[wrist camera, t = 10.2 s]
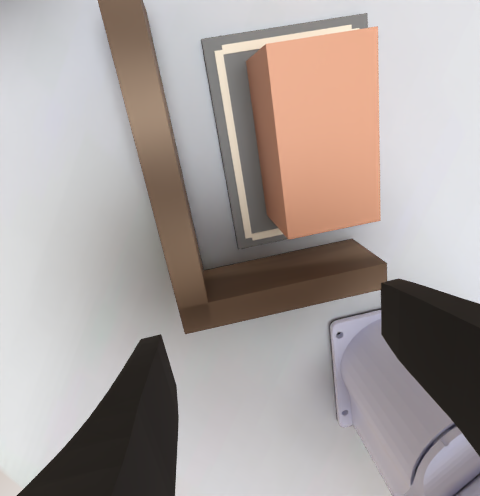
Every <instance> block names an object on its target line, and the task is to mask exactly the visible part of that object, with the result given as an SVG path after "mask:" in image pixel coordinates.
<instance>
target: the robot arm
mask: <svg viewBox="0 0 480 496" xmlns="http://www.w3.org/2000/svg"><path fill="white" fill-rule="evenodd" d="M338 332H341V333H340V334H339V335H336V334H337V333H338ZM330 333H331V345H332V358H333V370H334V382H335V395H336V407H337V420H338V423H339V425H340V426H341V427H348V426H352V425H353V426H354V427H355V429H356V431H357V433H358V434H359V436H360V438H361V440H362V442H363V443H364V445H365V447H366V449H367V451H368V452H369V454H370V456H371V458H372V460H373V461H374V463H375V465H376V467H377V469H378V470H379V472H380V474H381V476H382V477H383V479H384V481H385V483H386V485H387V486H388V488H389V490H390V492H391V494H392V495H393V496H480V304H478V303H475V302H472V301H468V300H465V299H462V298H459V297H456V296H453V295H450V294H447V293H444V292H441V291H438V290H435V289H432V288H429V287H426V286H422V285H419V284H416V283H413V282H409V281H406V280H402V279H395V280H391V281H387V282H383V283H381V310H378V311H374V312H369V313H365V314H361V315H356V316H352V317H348V318H343V319H339V320H336V321H334V322H332V324H331V325H330ZM344 410H345V411H344ZM177 441H178V401H177V389H176V383H175V380H174V376H173V373H172V370H171V366H170V363H169V360H168V356H167V353H166V349H165V346H164V343H163V339H162V336H161V335H157V336H153V337H148V338H144V339H141V340H140V342H139V343H138V345H137V346H136V348H135V350H134V351H133V353H132V354H131V356H130V358H129V359H128V361H127V363H126V364H125V366H124V368H123V369H122V371H121V372H120V374H119V375H118V377H117V378H116V380H115V381H114V383H113V385H112V386H111V388H110V389H109V391H108V392H107V394H106V395H105V396H104V398H103V399H102V400H101V402H100V403H99V405H98V406H97V407H96V409H95V410H94V411H93V413H92V414H91V416H90V417H89V418H88V419H87V421H86V422H85V423H84V424H83V426H82V427H81V428H80V429H79V431H78V432H77V433H76V434H75V435H74V436H73V438H72V439H71V440H70V441H69V442H68V443H67V444H66V446H65V447H64V448H63V449H62V450H61V451H60V452H59V453H58V454H57V455H56V456H55V458H54V459H53V460H52V461H51V462H50V463H49V464H48V465H47V466H46V467H45V468H44V469H43V470H42V471H41V472H40V473H39V474H38V475H37V476H36V477H35V478H34V479H33V480H32V481H31V482H30V483H29V484H28V485H27V486H26V487H25V488H24V489H23V490H22V491H21V492H20V493H19V494H18V495H17V496H175V482H176V461H177Z"/></svg>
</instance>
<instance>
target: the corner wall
mask: <svg viewBox="0 0 480 496" xmlns="http://www.w3.org/2000/svg"><path fill="white" fill-rule="evenodd" d="M98 3H99V7H100V11H101V15H102V19H103V23H104V26H105V30H106V34H107V38H108V42H109V45H110V49H111V53H112V57H113V61H114V65H115V68H116V72H117V76H118V80H119V84H120V88H121V91H122V95H123V99H124V103H125V107H126V110H127V114H128V118H129V122H130V126H131V130H132V133H133V137H134V141H135V145H136V149H137V152H138V156H139V160H140V164H141V168H142V172H143V175H144V179H145V183H146V187H147V191H148V195H149V198H150V202H151V206H152V210H153V214H154V217H155V221H156V225H157V229H158V233H159V237H160V240H161V244H162V248H163V252H164V256H165V259H166V263H167V267H168V271H169V275H170V279H171V282H172V286H173V290H174V294H175V298H176V302H177V305H178V309H179V313H180V317H181V321H182V324H183V328H184V332H185V334H188V333H193V332H197V331H202V330H206V329H210V328H215V327H219V326H224V325H228V324H232V323H237V322H241V321H245V320H250V319H254V318H259V317H263V316H267V315H272V314H276V313H281V312H285V311H289V310H294V309H298V308H303V307H307V306H311V305H316V304H320V303H324V302H329V301H333V300H338V299H342V298H346V297H351V296H355V295H360V294H364V293H368V292H373V291H377V290H381V283H383V282H387V263H386V262H384V261H383V260H382V259H380V258H379V257H377V256H376V255H375V254H373V253H372V252H370V251H369V250H368V249H366V248H365V247H363V246H362V245H360V244H359V243H358V242H356V241H355V240H353V239H349V240H345V241H340V242H335V243H331V244H326V245H321V246H316V247H312V248H307V249H302V250H298V251H293V252H288V253H284V254H279V255H274V256H270V257H265V258H260V259H256V260H251V261H246V262H241V263H237V264H232V265H227V266H223V267H218V268H213V269H209V270H203V266H202V261H201V257H200V252H199V248H198V243H197V239H196V234H195V229H194V225H193V220H192V216H191V211H190V207H189V202H188V198H187V193H186V189H185V184H184V180H183V175H182V171H181V166H180V162H179V157H178V153H177V148H176V144H175V139H174V134H173V130H172V125H171V121H170V116H169V112H168V107H167V103H166V98H165V94H164V89H163V85H162V80H161V76H160V71H159V67H158V62H157V58H156V53H155V49H154V44H153V40H152V35H151V30H150V26H149V21H148V17H147V12H146V9H145V6H144V3H143V0H98Z"/></svg>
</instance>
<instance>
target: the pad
mask: <svg viewBox="0 0 480 496" xmlns="http://www.w3.org/2000/svg"><path fill="white" fill-rule="evenodd" d="M364 28H368V20H367V13H365V14H359V15H352V16H346V17H339V18H333V19H327V20H320V21H314V22H307V23H301V24H295V25H288V26H282V27H275V28H269V29H263V30H256V31H250V32H243V33H237V34H231V35H224V36H218V37H211V38H205V39H202V40H201V41H202V47H203V52H204V58H205V64H206V69H207V75H208V81H209V86H210V92H211V98H212V103H213V109H214V115H215V120H216V126H217V132H218V137H219V143H220V149H221V154H222V160H223V166H224V171H225V177H226V183H227V188H228V194H229V199H230V205H231V211H232V216H233V222H234V228H235V233H236V239H237V245H238V249H243V248H248V247H252V246H257V245H262V244H267V243H271V242H276V241H281V240H286V239H288V238H287V237H286V236H285V235H284V234H283V233H282V232H281V230H280V229H279V228H278V227H277V226H276V225H275V224H274V222H273V221H272V220H271V219H270V218H269V217H268V216H267V213H266V206H265V198H264V191H263V184H262V176H261V169H260V162H259V154H258V147H257V140H256V132H255V125H254V118H253V110H252V103H251V96H250V88H249V81H248V74H247V66H246V61H247V60H248V59H249V58H250V57H251V56H253V55H254V54H255V53H256V52H257V51H258V50H259V49H261V48H262V47H263V46H264V45H265V44H268V43H275V42H281V41H288V40H294V39H300V38H307V37H313V36H320V35H326V34H332V33H339V32H345V31H352V30H358V29H364Z"/></svg>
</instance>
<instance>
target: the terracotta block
mask: <svg viewBox="0 0 480 496" xmlns="http://www.w3.org/2000/svg"><path fill="white" fill-rule="evenodd" d="M246 66H247V74H248V81H249V88H250V96H251V103H252V110H253V118H254V125H255V132H256V140H257V147H258V154H259V162H260V169H261V176H262V184H263V191H264V198H265V206H266V213H267V216H268V217H269V218H270V219H271V220H272V221H273V222H274V224H275V225H276V226H277V227H278V228H279V229H280V230H281V232H282V233H283V234H284V235H285V236H286V237H287V238H288V240H289V239H294V238H299V237H303V236H308V235H313V234H318V233H323V232H328V231H332V230H337V229H342V228H347V227H352V226H357V225H361V224H366V223H371V222H376V221H380V156H379V82H378V26H377V27H371V28H364V29H358V30H352V31H345V32H339V33H332V34H326V35H320V36H313V37H307V38H300V39H294V40H288V41H281V42H275V43H268V44H265V45H264V46H263V47H262V48H261V49H259V50H258V51H257V52H256V53H255V54H254V55H253V56H251V57H250V58H249V59H248V60H247V61H246Z"/></svg>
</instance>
